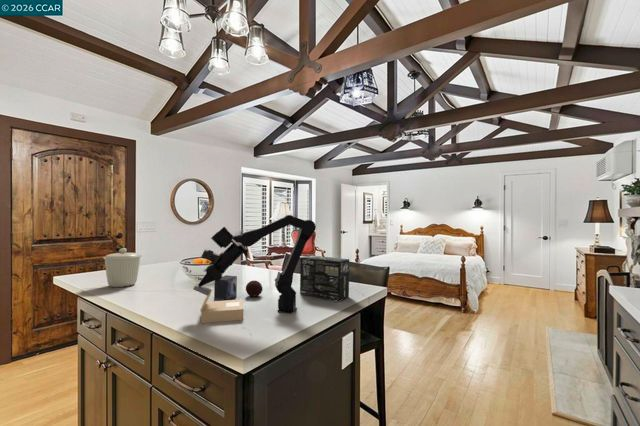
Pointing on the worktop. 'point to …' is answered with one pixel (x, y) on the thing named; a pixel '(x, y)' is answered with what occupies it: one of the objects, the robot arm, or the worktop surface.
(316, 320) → the worktop surface
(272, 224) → the robot arm
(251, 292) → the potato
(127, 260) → the canister
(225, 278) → the small box
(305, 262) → the box
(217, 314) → the carton
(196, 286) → the flap
